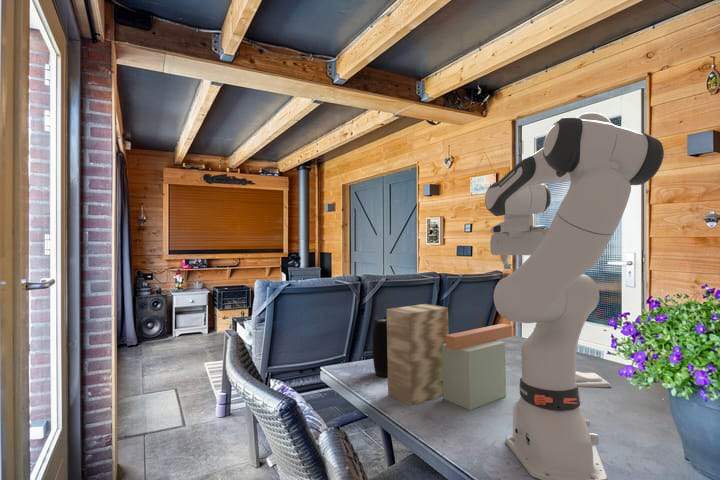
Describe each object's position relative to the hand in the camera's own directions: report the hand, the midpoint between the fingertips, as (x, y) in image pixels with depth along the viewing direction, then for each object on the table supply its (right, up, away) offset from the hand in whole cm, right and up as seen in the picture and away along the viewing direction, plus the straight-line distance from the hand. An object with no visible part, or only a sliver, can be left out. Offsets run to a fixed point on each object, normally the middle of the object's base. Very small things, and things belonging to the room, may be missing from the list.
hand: (520, 269), depth 130 cm
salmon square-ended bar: (-15, -21, -9) cm, 28 cm away
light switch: (+21, -37, +2) cm, 43 cm away
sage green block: (-18, -37, -11) cm, 42 cm away
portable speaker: (-42, -38, +12) cm, 58 cm away
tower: (-34, -37, -7) cm, 51 cm away
